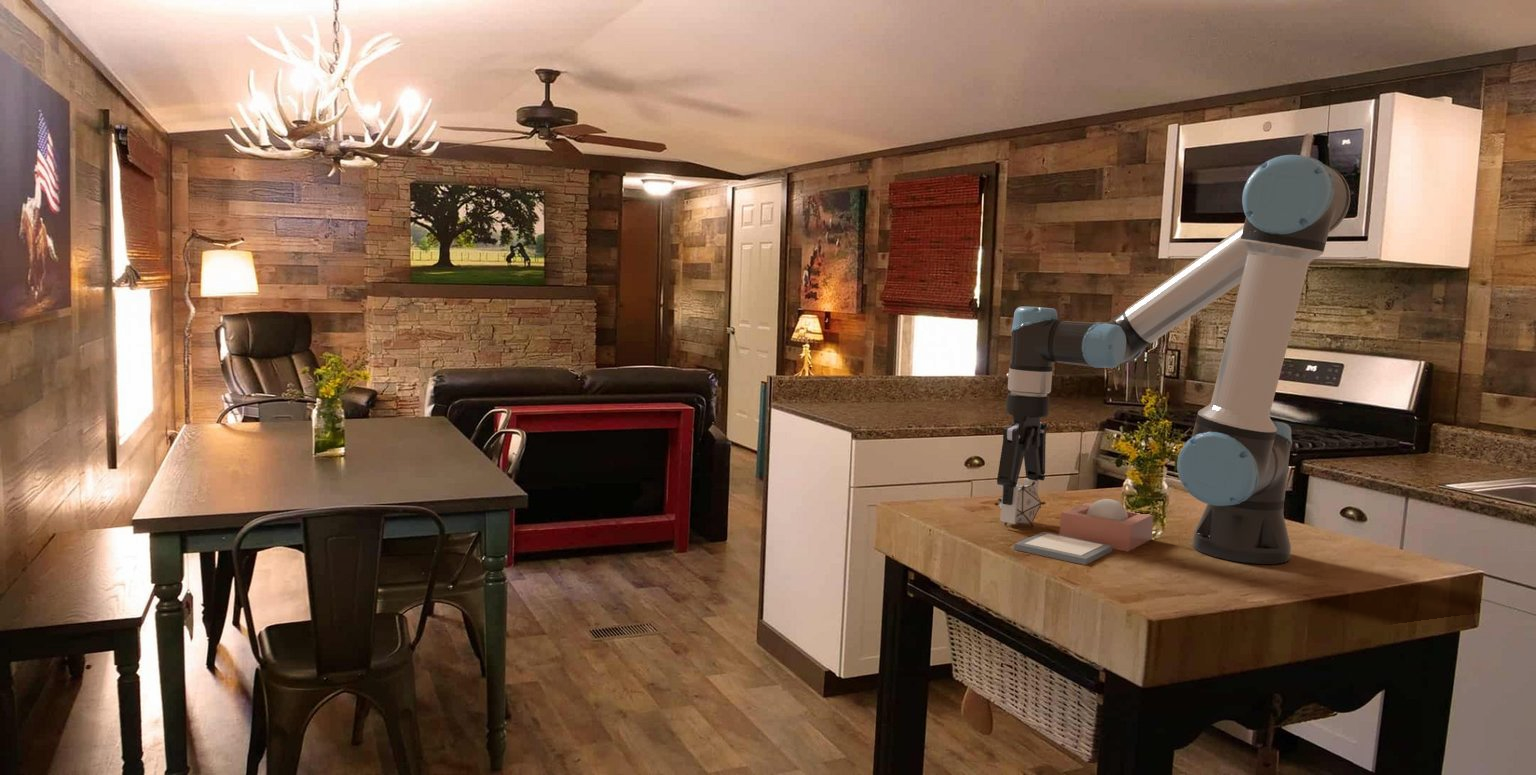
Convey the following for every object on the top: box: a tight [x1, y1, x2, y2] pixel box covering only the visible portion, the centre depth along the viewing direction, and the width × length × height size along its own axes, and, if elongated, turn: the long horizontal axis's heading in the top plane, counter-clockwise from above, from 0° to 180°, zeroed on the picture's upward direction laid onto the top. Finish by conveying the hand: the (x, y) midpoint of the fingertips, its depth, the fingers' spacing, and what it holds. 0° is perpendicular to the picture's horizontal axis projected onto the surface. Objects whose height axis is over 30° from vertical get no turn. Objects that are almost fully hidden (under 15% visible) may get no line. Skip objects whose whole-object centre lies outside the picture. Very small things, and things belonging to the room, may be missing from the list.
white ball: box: [1087, 498, 1128, 521], centre depth 182 cm, size 7×7×7 cm
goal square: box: [1013, 531, 1113, 566], centre depth 173 cm, size 12×12×1 cm
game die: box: [993, 482, 1047, 529], centre depth 189 cm, size 9×8×10 cm
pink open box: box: [1058, 502, 1154, 553], centre depth 183 cm, size 12×12×4 cm
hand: (1018, 518), depth 189 cm, fingers closed on game die, 8 cm apart
